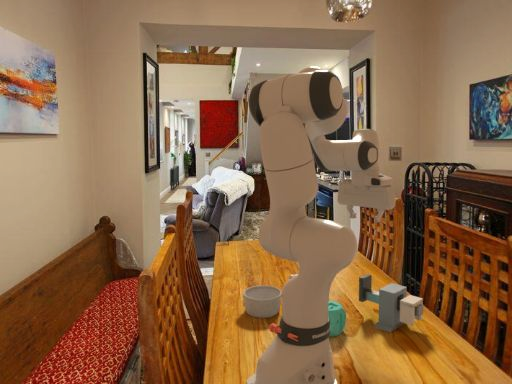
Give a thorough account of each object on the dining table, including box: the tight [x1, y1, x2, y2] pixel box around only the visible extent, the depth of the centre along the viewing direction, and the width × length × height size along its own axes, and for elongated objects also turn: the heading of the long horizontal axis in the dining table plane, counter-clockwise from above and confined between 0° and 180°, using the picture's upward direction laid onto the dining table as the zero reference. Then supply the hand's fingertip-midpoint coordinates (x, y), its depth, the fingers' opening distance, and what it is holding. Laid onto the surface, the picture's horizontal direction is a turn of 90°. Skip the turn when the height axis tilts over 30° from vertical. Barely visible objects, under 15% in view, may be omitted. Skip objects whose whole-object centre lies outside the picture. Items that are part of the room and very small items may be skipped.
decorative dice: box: [328, 300, 347, 338], centre depth 115 cm, size 8×8×8 cm
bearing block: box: [374, 282, 408, 333], centre depth 119 cm, size 12×5×12 cm, turn 131°
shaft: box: [358, 273, 424, 317], centre depth 119 cm, size 5×20×8 cm, turn 42°
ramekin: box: [242, 284, 282, 319], centre depth 130 cm, size 13×13×7 cm
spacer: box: [400, 294, 424, 327], centre depth 114 cm, size 6×4×7 cm, turn 132°
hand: (364, 219), depth 127 cm, fingers open, 8 cm apart
